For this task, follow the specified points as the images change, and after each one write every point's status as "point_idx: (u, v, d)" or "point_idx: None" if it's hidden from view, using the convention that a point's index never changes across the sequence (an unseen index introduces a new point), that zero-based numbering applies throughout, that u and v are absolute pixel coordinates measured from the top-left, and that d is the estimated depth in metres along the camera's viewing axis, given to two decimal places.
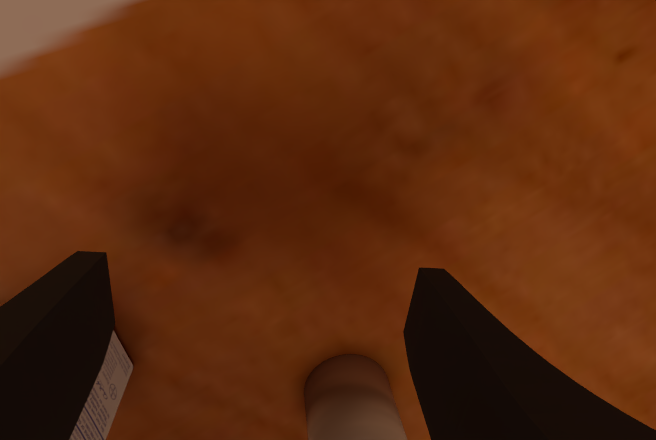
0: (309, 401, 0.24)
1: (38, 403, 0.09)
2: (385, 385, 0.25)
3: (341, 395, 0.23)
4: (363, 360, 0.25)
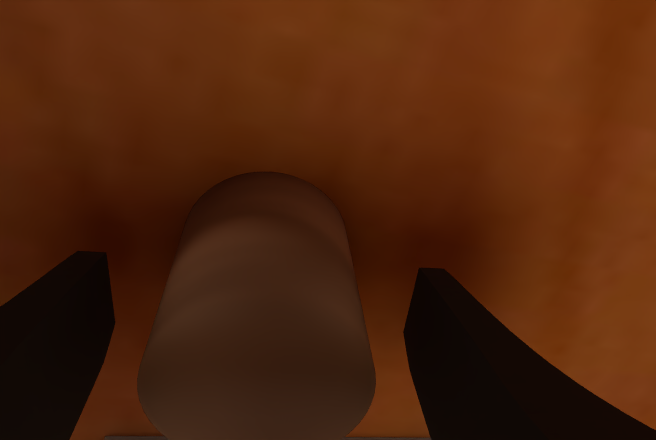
0: (223, 210, 0.11)
1: (38, 403, 0.09)
2: None
3: (309, 240, 0.11)
4: (342, 222, 0.13)
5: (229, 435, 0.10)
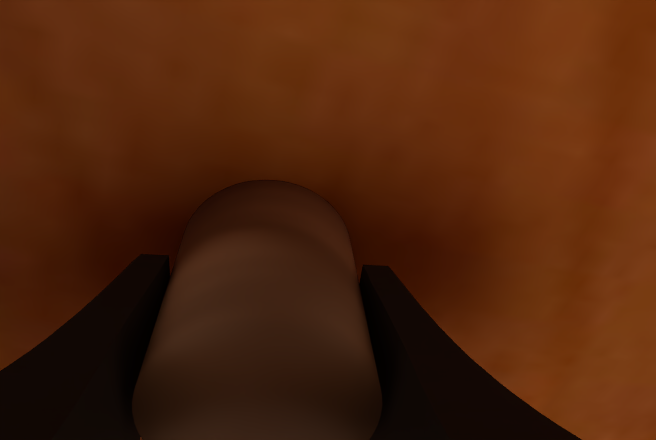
0: (223, 221, 0.11)
1: (119, 404, 0.09)
2: None
3: (312, 254, 0.10)
4: (346, 232, 0.13)
5: None
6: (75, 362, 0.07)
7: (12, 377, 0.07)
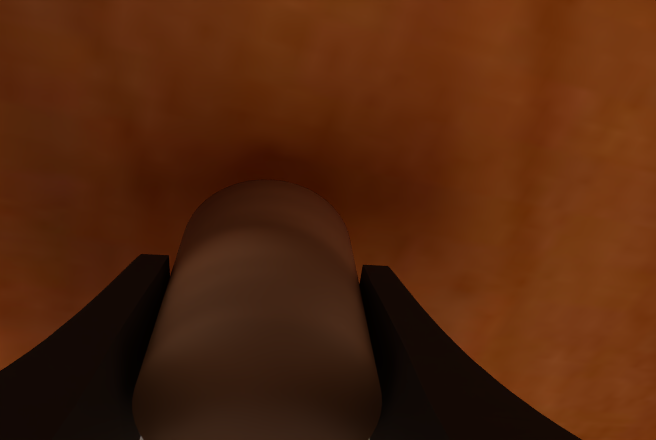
0: (223, 220, 0.11)
1: (120, 404, 0.09)
2: None
3: (312, 253, 0.10)
4: (346, 232, 0.13)
5: None
6: (75, 362, 0.07)
7: (12, 376, 0.07)
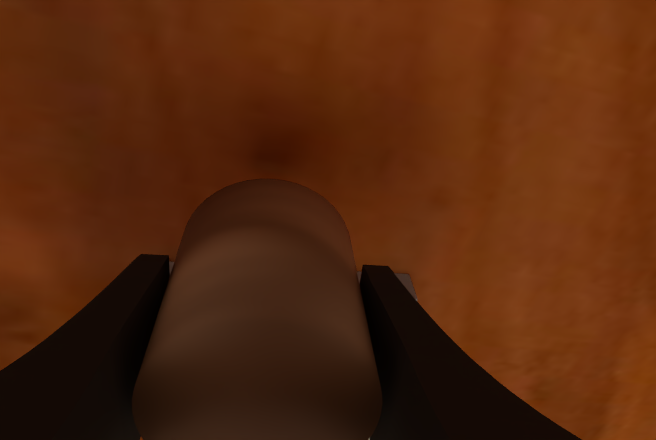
0: (222, 219, 0.11)
1: (119, 404, 0.09)
2: None
3: (312, 252, 0.10)
4: (346, 231, 0.13)
5: None
6: (75, 362, 0.07)
7: (11, 377, 0.07)
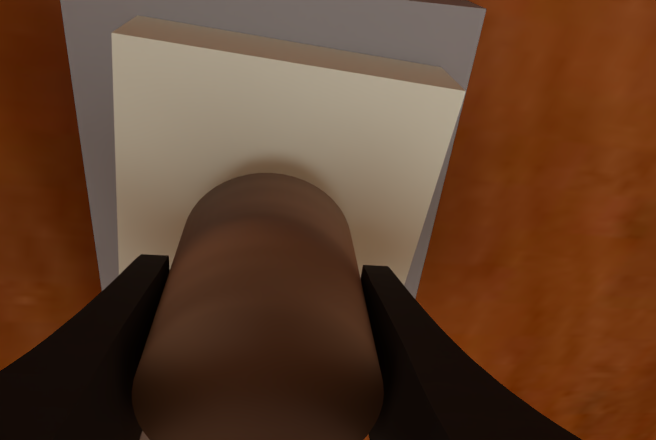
0: (222, 212, 0.11)
1: (120, 404, 0.09)
2: None
3: (312, 243, 0.10)
4: (346, 224, 0.13)
5: None
6: (75, 362, 0.07)
7: (12, 377, 0.07)
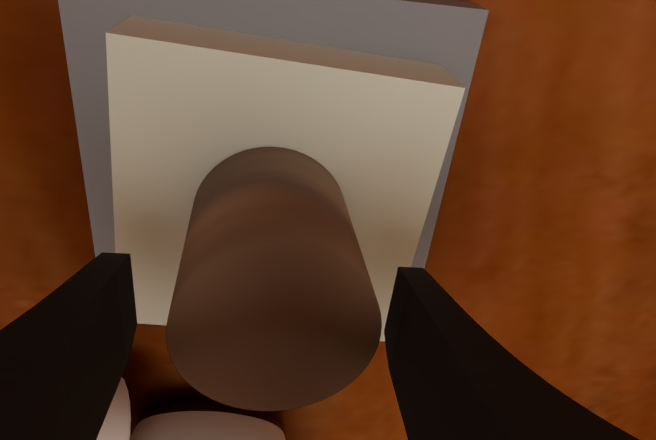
0: (233, 179, 0.12)
1: (69, 404, 0.09)
2: None
3: (315, 202, 0.11)
4: (341, 193, 0.14)
5: (249, 381, 0.11)
6: (16, 361, 0.07)
7: None
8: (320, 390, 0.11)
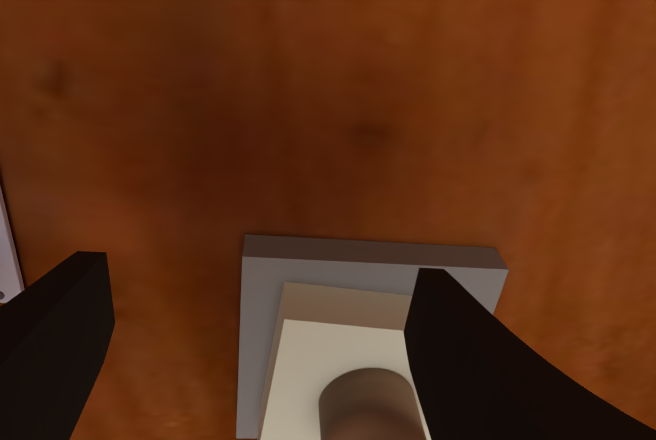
0: (352, 404, 0.21)
1: (38, 403, 0.09)
2: None
3: (403, 427, 0.20)
4: (412, 392, 0.23)
5: None
6: None
7: None
8: None
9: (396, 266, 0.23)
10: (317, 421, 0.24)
